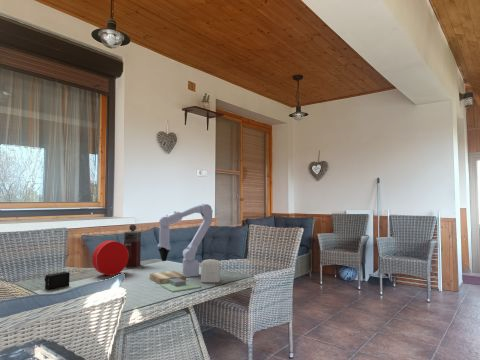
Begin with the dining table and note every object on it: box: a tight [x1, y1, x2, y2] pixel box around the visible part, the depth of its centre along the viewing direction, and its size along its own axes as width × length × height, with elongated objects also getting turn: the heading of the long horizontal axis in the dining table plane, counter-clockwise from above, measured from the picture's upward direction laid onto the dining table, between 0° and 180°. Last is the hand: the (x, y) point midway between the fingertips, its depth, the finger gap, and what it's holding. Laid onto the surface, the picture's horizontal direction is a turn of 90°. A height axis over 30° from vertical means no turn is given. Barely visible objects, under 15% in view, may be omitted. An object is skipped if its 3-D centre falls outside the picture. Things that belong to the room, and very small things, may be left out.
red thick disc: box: [91, 240, 129, 276], centre depth 207 cm, size 20×6×20 cm, turn 136°
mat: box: [159, 279, 202, 293], centre depth 179 cm, size 16×16×1 cm
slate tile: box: [168, 278, 187, 286], centre depth 182 cm, size 6×9×2 cm, turn 35°
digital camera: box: [44, 271, 71, 291], centre depth 177 cm, size 10×5×7 cm, turn 149°
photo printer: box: [200, 258, 221, 283], centre depth 189 cm, size 10×4×12 cm, turn 94°
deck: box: [148, 270, 187, 286], centre depth 193 cm, size 15×16×3 cm
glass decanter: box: [123, 223, 142, 268], centre depth 233 cm, size 9×11×28 cm
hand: (163, 260), depth 201 cm, fingers closed
